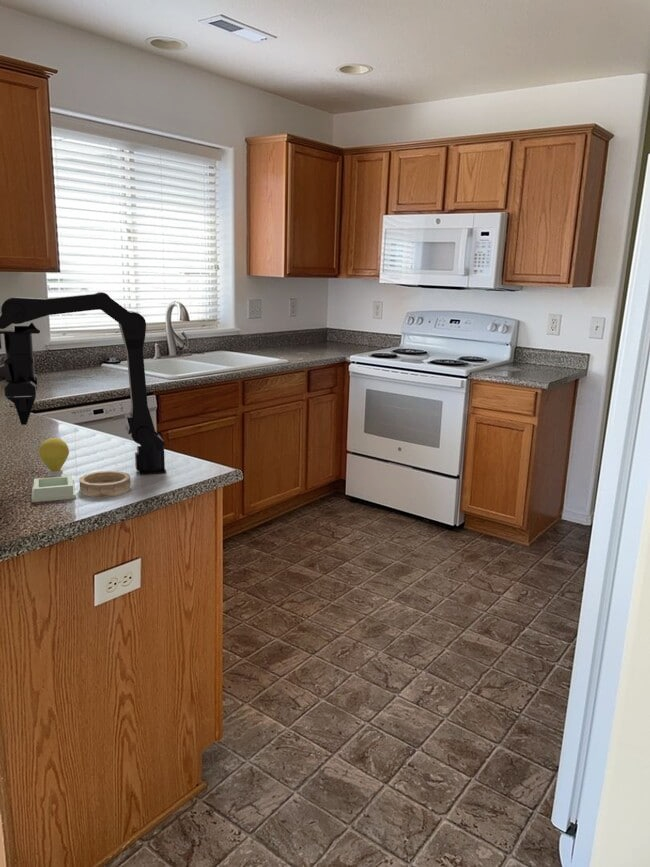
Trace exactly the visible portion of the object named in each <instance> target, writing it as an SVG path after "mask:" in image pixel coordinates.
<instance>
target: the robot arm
mask: <svg viewBox="0 0 650 867" xmlns="http://www.w3.org/2000/svg"><path fill="white" fill-rule="evenodd" d="M95 310H97V311H98V310H100V311H102V312H103V313H105V314H106V315H107V316H109V317H110V318H112V319H113V320H114V321H116V322H117V323H118V327H119V331H120V334H121V338H122V341H123V344H124V346H125V351H126V362H127V371H128V372H127V373H128V384H129V393H130V394H129V395H130V412H124V417H125V421H126V424H125V431H126V432H127V434H128V435H130V437H131V438H132V440H133V441H134V442H135V443H136V444H137V445H139V446H136V450H137V451H136V452H134V460H135V466H134V467H135V470H136V472H138V473H139V475H153V474H154V475H155V474H165V473H167V469H166V466H165V465H166V464H165V441H164V439H163V437H161V435H160V433H158V432H157V431H156V429H155V427H154V426H155V425H154V421H153V418H152V415H151V412H150V409H149V406H148V394H147V383H146V372H145V371H146V370H145V358H144V345H145V340H146V332H147V321H146V319H145V317H144V316H143V315H141V313H138V312H136V311H134V310H128V309H127V308H125V307H124V306H122V305H120V304H119V303H118V302H116V300H114V299H112V298H111V297H110V296H109V294H107V293H106V292H103V291H98V292H96V293H86V294H80V295H68V296H60V297H50V298H37V297H27V296H26V297H24V296H11V297H9V298H7V299H6V300H4V302H3V303H2V305H1V315H0V350H2V349H3V342H2V341H3V340H2V335H3V338H4V349H5V350H4V352H5V358H4V360H3V364H0V382H3V381H5V383H7V384H5V386H4V388H3V389H4V397H5V398H6V399H7V400H8V401H10V402H12V403H13V404H14V407H15V410H16V412H17V415H18V419H19V422H20V424H21V426H25V425H26V426H27V425H28V421H29V419H30V415H31V413H32V410H33V407H34V404H35V401H36V398H37V389H38V383H39V382H38V375H37V374H36V373H35V359H34V358H35V356H34V348H33V334H40V333H41V329H40V328H38V327H37V326H36V325H35V324H34V322H33V320H37V319H40V318H43V317H46V316H53V315H60V314H71V313H77V312H89V311H95ZM28 322H30V324H28V325H22V324H24V323H28ZM12 324H13V325H14V329H11V330H10V329H6V328H8V327H9V326H11V325H12ZM20 324H21V325H20ZM5 329H6V330H5Z"/></svg>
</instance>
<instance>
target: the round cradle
mask: <svg viewBox="0 0 650 867" xmlns="http://www.w3.org/2000/svg"><path fill="white" fill-rule="evenodd" d="M78 479H79V480H78V482H79V493H80V494H81V495H83V496H86V497H89V498H107V497H109V498H110V497H115V496H119V495H123V494H126V493H128V492H129V491H130V490H131V484H132V482H131V475H130V474H129V473H128V472H124V471H119V470H103V471H95V472H90V473H86V474H84V475H82V476H80V477H78ZM125 492H126V493H125Z"/></svg>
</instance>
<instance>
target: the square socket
mask: <svg viewBox="0 0 650 867" xmlns="http://www.w3.org/2000/svg"><path fill="white" fill-rule="evenodd" d="M75 485H76V484H75V482H73V476H72V475H63V476H62V475H61V476H60V477H51V476H49V477H39V478H33V486H32V489H31V503H41V502H50V501H61V500H73V499H77V492H76V486H75Z"/></svg>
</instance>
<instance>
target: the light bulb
mask: <svg viewBox="0 0 650 867" xmlns="http://www.w3.org/2000/svg"><path fill="white" fill-rule="evenodd" d="M68 446H69V445H68V444H67V443H66V441H64V440H63V439H60V438H58V437H51V438H48V439H46V440H44V441H43V442H42V443H41V444H40V446H39V448H38V455H39V457H40V459H41V461H42V463H43V464H44V465H45V467H47V468H48V470H47V471H48V472H47V473H48V474H47V475H48V476H49V477H60V476H62V475H63V469H62V468H63V466H64V465H65V463H66V461H67V459H68V457H69V455H70V451H69V450H70V449H69V447H68Z"/></svg>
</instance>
